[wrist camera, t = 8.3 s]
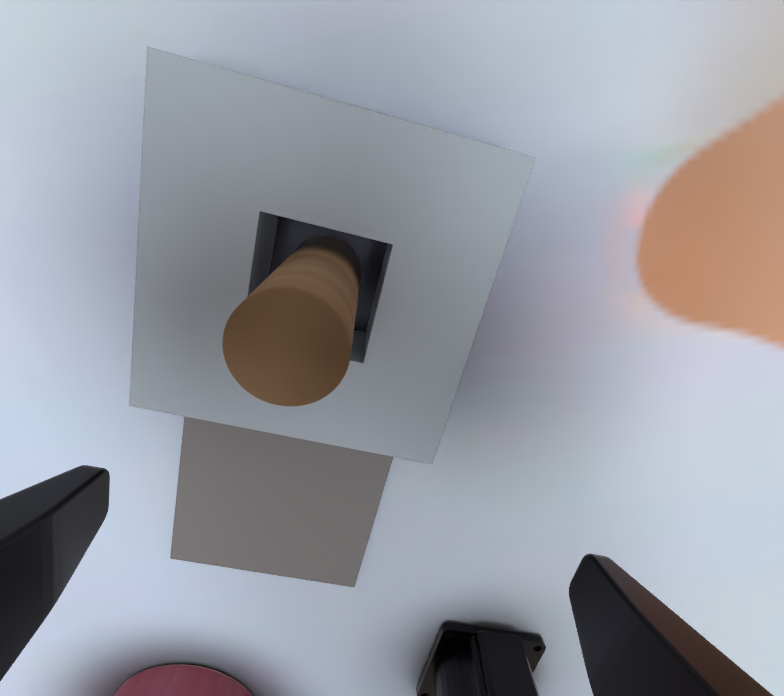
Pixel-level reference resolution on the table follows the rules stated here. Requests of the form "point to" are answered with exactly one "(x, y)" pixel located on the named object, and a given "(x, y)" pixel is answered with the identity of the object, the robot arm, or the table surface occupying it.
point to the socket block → (322, 208)
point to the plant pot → (181, 682)
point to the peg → (297, 326)
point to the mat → (275, 503)
